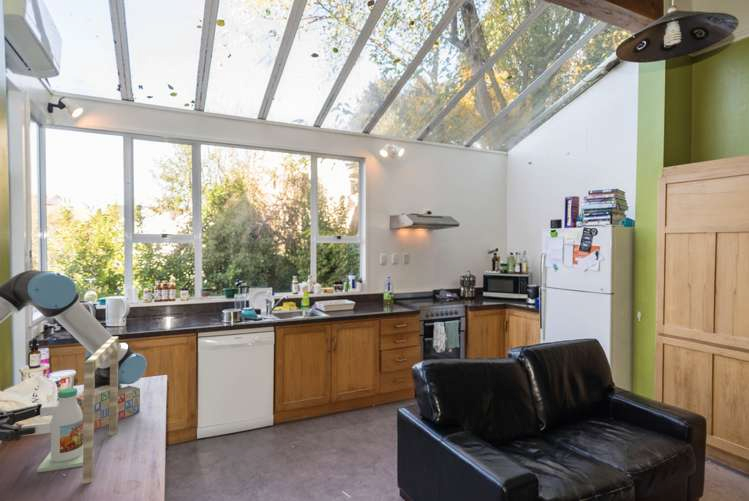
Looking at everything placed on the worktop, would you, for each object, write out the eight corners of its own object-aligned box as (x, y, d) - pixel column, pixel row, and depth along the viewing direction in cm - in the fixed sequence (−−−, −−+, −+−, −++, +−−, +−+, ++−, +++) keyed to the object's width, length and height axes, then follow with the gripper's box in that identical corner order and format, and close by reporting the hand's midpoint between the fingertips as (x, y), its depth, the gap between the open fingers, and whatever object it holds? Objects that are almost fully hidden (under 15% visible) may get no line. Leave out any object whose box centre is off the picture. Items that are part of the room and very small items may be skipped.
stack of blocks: (129, 408, 162) (129, 377, 162) (140, 411, 160) (140, 380, 159) (70, 431, 143) (71, 395, 142) (82, 434, 140) (82, 398, 140)
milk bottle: (46, 465, 119) (47, 396, 119) (55, 452, 126) (55, 387, 126) (79, 460, 122) (80, 392, 122) (85, 447, 129) (86, 384, 129)
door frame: (110, 432, 142) (111, 336, 141) (117, 431, 142) (118, 336, 142) (82, 484, 112) (84, 362, 111) (91, 482, 113) (92, 362, 112)
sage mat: (51, 453, 127) (51, 450, 127) (93, 448, 131) (93, 444, 131) (37, 472, 117) (37, 469, 117) (83, 465, 121) (83, 462, 121)
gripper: (-12, 423, 126) (71, 413, 134) (-62, 463, 103) (42, 450, 111) (-12, 398, 126) (72, 391, 134) (-62, 434, 103) (43, 422, 111)
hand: (59, 417), depth 123 cm, fingers open, 13 cm apart
